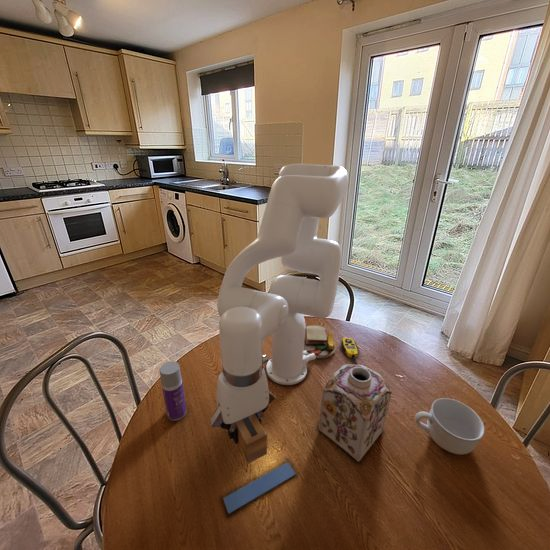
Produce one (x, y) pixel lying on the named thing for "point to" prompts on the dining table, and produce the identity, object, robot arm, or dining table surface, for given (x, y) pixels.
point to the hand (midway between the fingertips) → (245, 432)
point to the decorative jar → (354, 408)
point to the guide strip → (258, 487)
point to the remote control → (350, 348)
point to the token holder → (251, 438)
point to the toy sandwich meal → (318, 342)
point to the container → (173, 390)
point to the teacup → (452, 425)
